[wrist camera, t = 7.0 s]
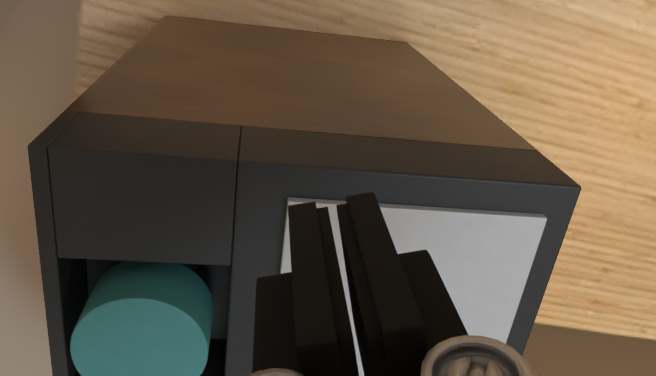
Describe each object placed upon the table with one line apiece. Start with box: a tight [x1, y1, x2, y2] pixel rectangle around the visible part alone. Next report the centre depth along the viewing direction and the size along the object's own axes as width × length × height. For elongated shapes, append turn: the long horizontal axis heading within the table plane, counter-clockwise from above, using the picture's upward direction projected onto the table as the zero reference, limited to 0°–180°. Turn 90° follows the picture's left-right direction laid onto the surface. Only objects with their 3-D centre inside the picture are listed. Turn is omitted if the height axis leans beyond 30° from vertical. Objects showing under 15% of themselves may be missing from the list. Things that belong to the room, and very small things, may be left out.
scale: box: [28, 111, 581, 376], centre depth 19 cm, size 16×12×3 cm
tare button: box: [70, 261, 214, 376], centre depth 17 cm, size 4×4×2 cm
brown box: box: [64, 15, 538, 151], centre depth 30 cm, size 16×12×20 cm
